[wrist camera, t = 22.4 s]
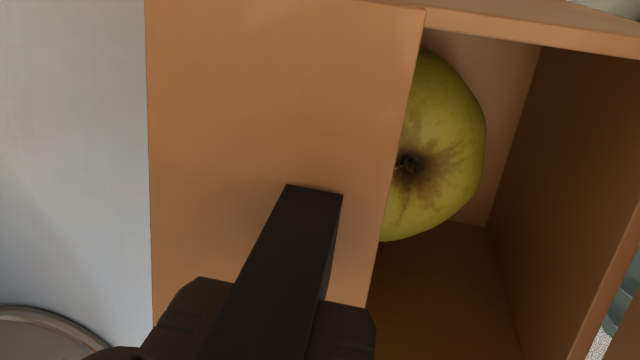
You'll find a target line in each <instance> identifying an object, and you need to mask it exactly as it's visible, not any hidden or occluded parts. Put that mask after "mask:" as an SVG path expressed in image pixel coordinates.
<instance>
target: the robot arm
mask: <svg viewBox="0 0 640 360" xmlns="http://www.w3.org/2000/svg"><path fill="white" fill-rule="evenodd" d="M343 196H344V195H343V194H338V193H333V192H327V191H322V190H316V189H311V188H306V187H300V186H295V185H289V184H286V185H285V187H284V189H283V191H282V193H281V195H280V197H279V199H278V200H277V202H276V204H275V206H274V208H273V210H272V212H271V214H270V216H269V218H268V220H267V221H266V223H265V225H264V227H263V229H262V231H261V233H260V235H259V237H258V239H257V241H256V243H255V244H254V246H253V248H252V250H251V252H250V254H249V256H248V258H247V260H246V262H245V264H244V265H243V267H242V269H241V271H240V273H239V275H238V277H237V279H236V281H235V283H231V282H226V281H221V280H216V279H212V278H207V277H202V276H198V277H197V278H195V279H194V280H192V281H191V282H189V283H188V284H186V285H185V286H183V287H182V288H180V289H179V290H178V292H177V293H176V295H175V296H174V298H173V299H172V301H171V302H170V304H169V305H168V307H167V310H166V311H164V313H163V314H162V316H161V317H160V319H159V320H158V322H157V325H156V326H154V327H153V329H152V330H151V332H150V333H149V335H148V336H147V338H146V339H145V341H144V342H143V344H142V345H141V347H140V348H138V347H125V346H118V347H113V348H110V347H108V346H107V345H106V344H105V343H104V342H103V341H101V340H100V339H99V338H98V337H96V336H95V335H93V334H92V333H90V332H89V331H87V330H86V329H84V328H83V327H81V326H79V325H77V324H75V323H73V322H71V321H69V320H67V319H65V318H63V317H60V316H58V315H55V314H52V313H49V312H46V311H42V310H38V309H33V308H28V307H18V306H7V307H0V360H374V351H375V340H376V327H375V324H374V322H373V320H372V318H371V315H370V313H369V311H368V309H366V308H361V307H356V306H351V305H346V304H341V303H336V302H332V301H327V300H325V298H326V294H327V290H328V285H329V281H330V275H331V269H332V263H333V257H334V251H335V244H336V238H337V232H338V226H339V220H340V214H341V208H342V202H343Z"/></svg>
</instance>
